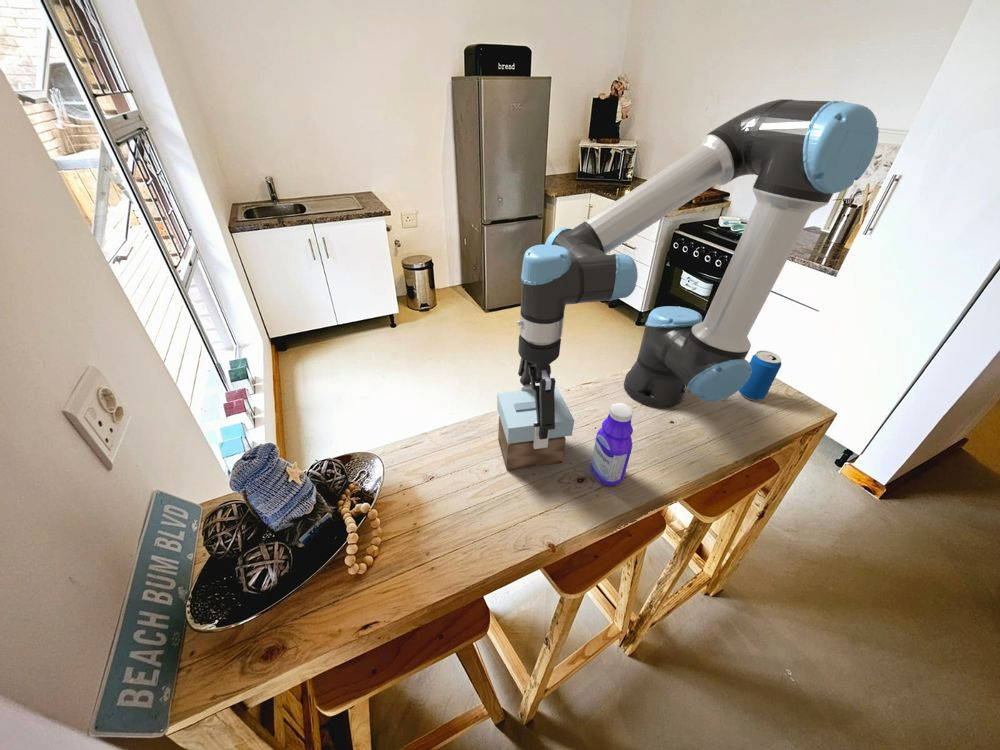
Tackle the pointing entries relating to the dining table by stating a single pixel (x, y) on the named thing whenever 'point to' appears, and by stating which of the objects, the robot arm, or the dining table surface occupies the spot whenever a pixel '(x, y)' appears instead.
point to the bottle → (613, 446)
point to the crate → (529, 452)
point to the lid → (530, 415)
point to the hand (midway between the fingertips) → (532, 427)
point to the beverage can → (761, 375)
